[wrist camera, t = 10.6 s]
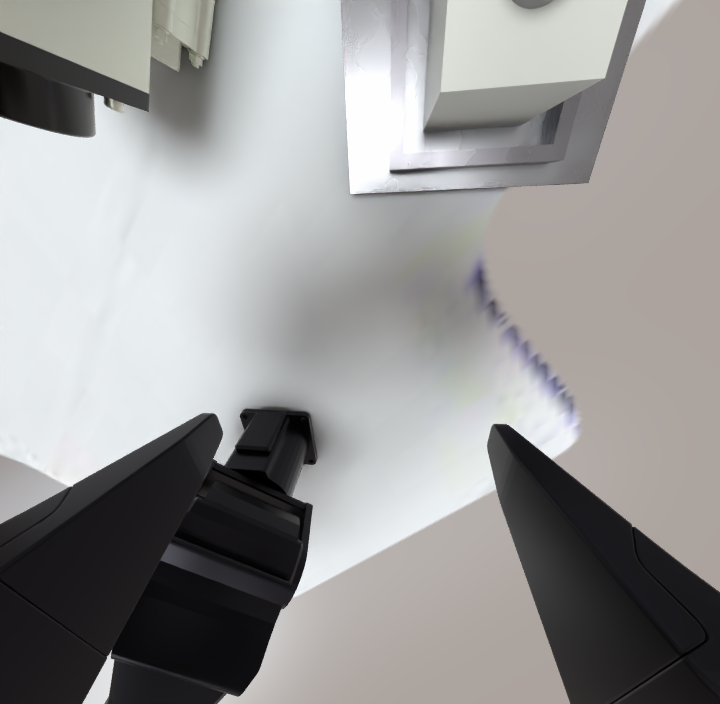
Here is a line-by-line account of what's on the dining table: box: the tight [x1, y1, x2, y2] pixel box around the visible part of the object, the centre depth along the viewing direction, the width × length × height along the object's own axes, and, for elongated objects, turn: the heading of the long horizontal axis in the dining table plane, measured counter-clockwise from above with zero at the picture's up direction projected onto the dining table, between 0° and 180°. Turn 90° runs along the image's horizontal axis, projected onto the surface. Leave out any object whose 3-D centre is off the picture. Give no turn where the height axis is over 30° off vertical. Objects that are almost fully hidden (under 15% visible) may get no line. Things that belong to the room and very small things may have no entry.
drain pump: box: [423, 0, 628, 132], centre depth 9 cm, size 5×4×7 cm
